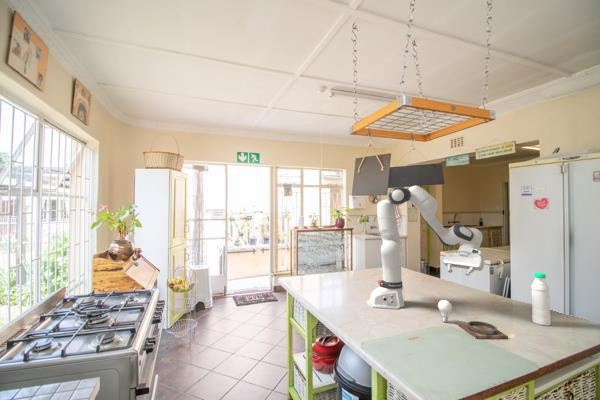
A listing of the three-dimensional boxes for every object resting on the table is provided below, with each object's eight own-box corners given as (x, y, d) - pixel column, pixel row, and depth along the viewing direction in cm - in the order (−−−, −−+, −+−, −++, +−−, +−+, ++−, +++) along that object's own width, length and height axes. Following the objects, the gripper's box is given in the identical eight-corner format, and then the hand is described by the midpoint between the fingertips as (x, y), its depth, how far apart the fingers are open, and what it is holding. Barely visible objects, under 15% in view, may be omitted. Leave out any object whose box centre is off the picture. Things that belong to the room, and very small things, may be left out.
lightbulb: (451, 325, 138) (451, 302, 139) (437, 322, 142) (437, 300, 142) (452, 321, 144) (452, 299, 144) (439, 318, 147) (438, 297, 147)
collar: (477, 334, 125) (476, 331, 125) (462, 324, 136) (462, 321, 136) (503, 334, 125) (503, 331, 125) (486, 324, 136) (486, 321, 136)
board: (476, 338, 124) (475, 336, 124) (458, 325, 138) (458, 323, 138) (507, 338, 123) (507, 336, 123) (487, 325, 137) (487, 323, 137)
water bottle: (546, 327, 135) (544, 275, 136) (529, 322, 142) (527, 272, 143) (553, 324, 138) (551, 273, 140) (536, 319, 145) (534, 271, 146)
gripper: (446, 247, 164) (437, 266, 158) (484, 251, 147) (475, 272, 141) (450, 254, 166) (442, 273, 161) (488, 259, 149) (480, 280, 143)
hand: (458, 273), depth 151 cm, fingers open, 8 cm apart
